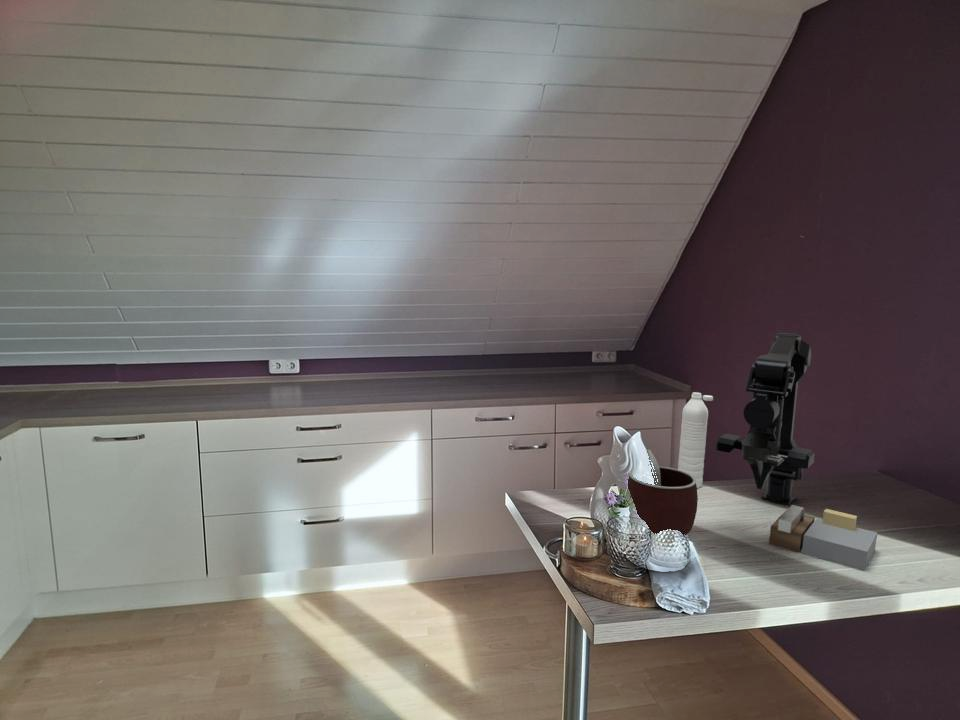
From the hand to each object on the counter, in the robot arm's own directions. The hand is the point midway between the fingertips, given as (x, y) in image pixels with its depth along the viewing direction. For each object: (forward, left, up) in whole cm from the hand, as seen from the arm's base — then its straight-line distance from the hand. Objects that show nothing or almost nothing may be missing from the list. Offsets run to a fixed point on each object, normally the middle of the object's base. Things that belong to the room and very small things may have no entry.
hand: (759, 488), depth 142 cm
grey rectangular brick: (-5, +16, -11) cm, 20 cm away
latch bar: (-3, +6, -7) cm, 10 cm away
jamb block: (-5, +6, -11) cm, 14 cm away
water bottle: (-23, -23, -11) cm, 34 cm away
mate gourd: (+23, -13, -11) cm, 29 cm away
